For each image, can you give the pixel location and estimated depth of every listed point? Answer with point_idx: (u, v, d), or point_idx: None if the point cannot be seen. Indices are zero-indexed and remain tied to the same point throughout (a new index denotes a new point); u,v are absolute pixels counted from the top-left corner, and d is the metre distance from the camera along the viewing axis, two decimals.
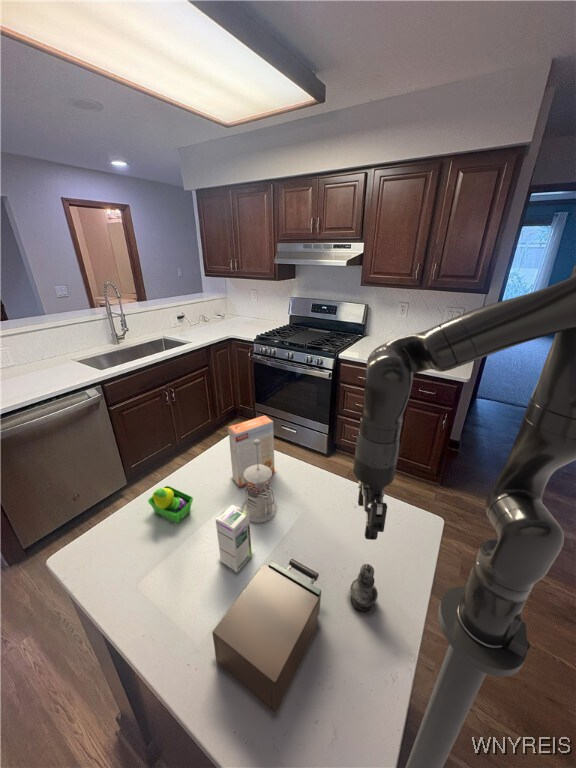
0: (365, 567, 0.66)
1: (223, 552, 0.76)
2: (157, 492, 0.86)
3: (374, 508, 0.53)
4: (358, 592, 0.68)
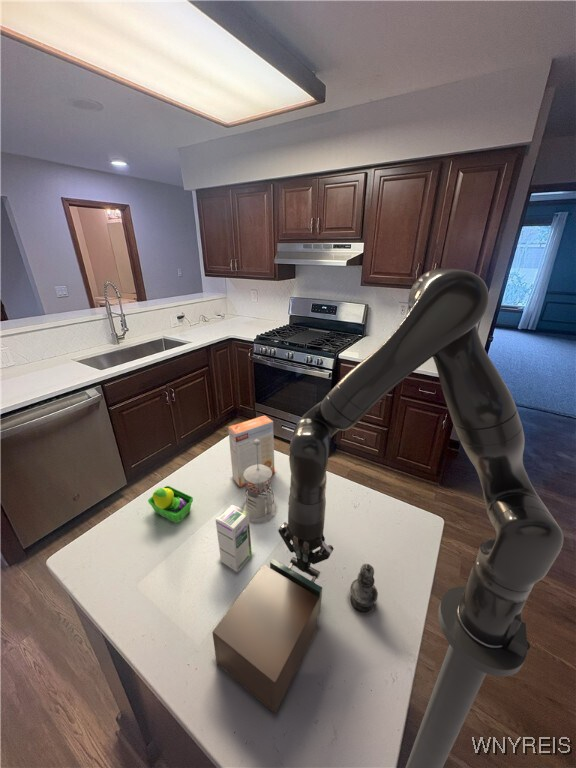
0: (365, 567, 0.66)
1: (223, 552, 0.76)
2: (157, 492, 0.86)
3: (328, 557, 0.64)
4: (358, 592, 0.68)
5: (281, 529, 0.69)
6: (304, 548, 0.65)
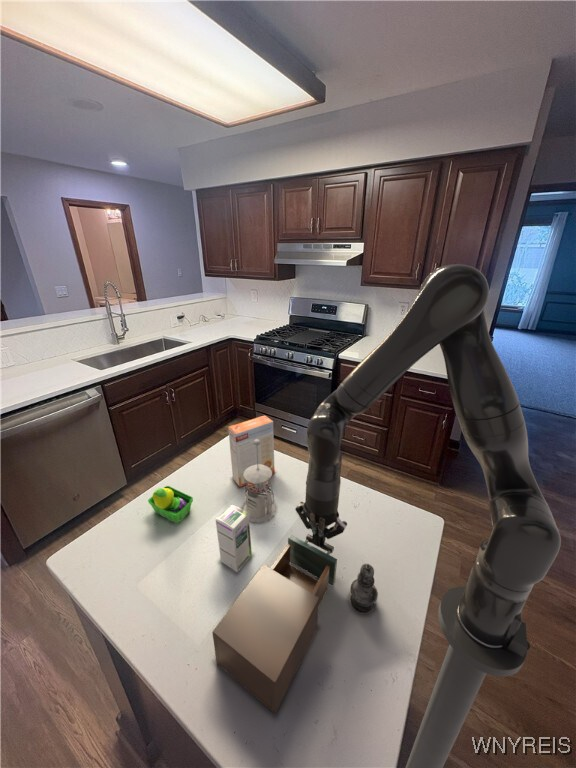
0: (365, 567, 0.66)
1: (223, 552, 0.76)
2: (157, 492, 0.86)
3: (342, 531, 0.69)
4: (358, 592, 0.68)
5: (298, 507, 0.75)
6: (320, 524, 0.71)
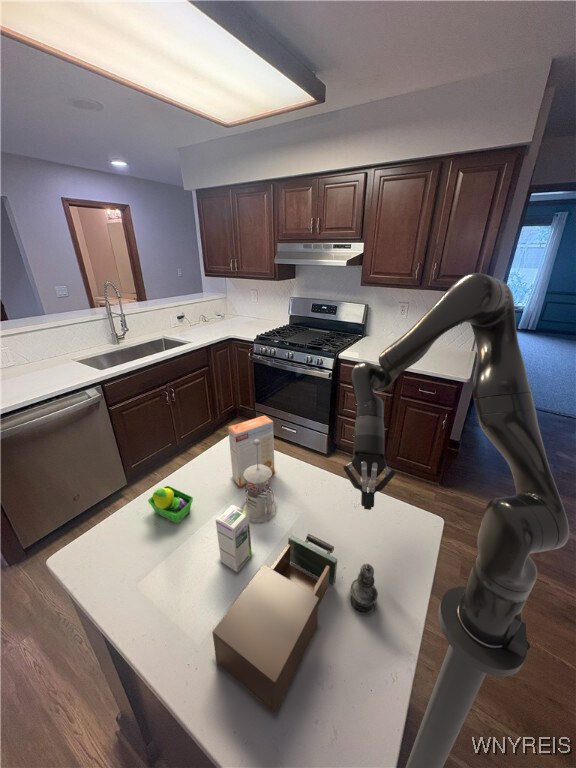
0: (365, 567, 0.66)
1: (223, 552, 0.76)
2: (157, 492, 0.86)
3: (394, 474, 0.74)
4: (358, 592, 0.68)
5: (346, 465, 0.76)
6: (372, 472, 0.74)
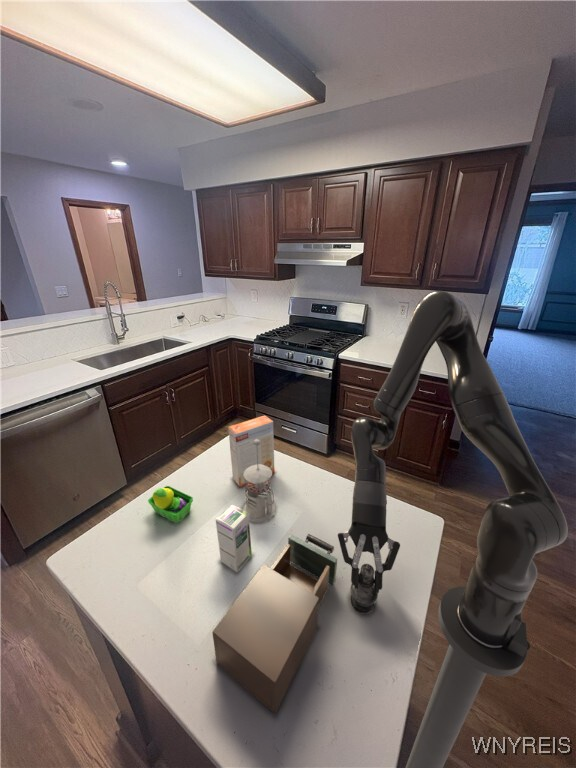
0: (365, 567, 0.66)
1: (223, 552, 0.76)
2: (157, 492, 0.86)
3: (399, 546, 0.67)
4: (358, 592, 0.68)
5: (342, 533, 0.69)
6: (375, 548, 0.67)
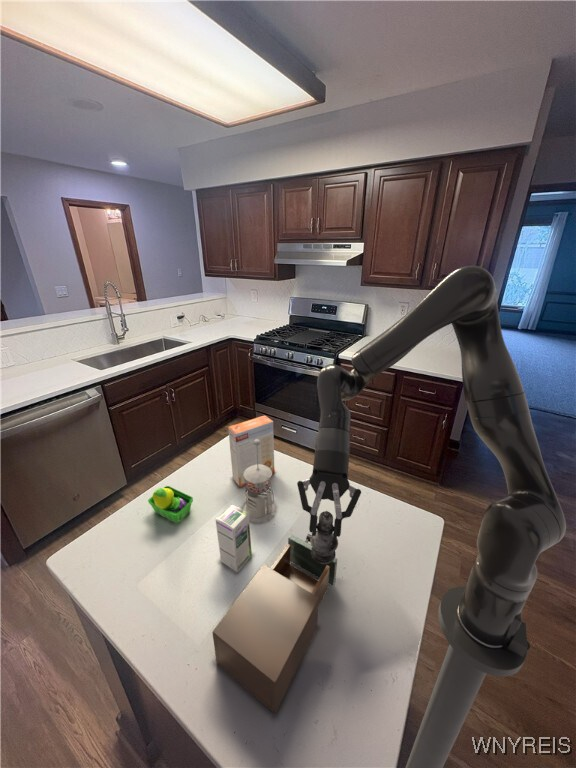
0: (324, 514, 0.63)
1: (223, 552, 0.76)
2: (157, 492, 0.86)
3: (360, 493, 0.64)
4: (317, 541, 0.65)
5: (301, 481, 0.66)
6: (334, 495, 0.64)
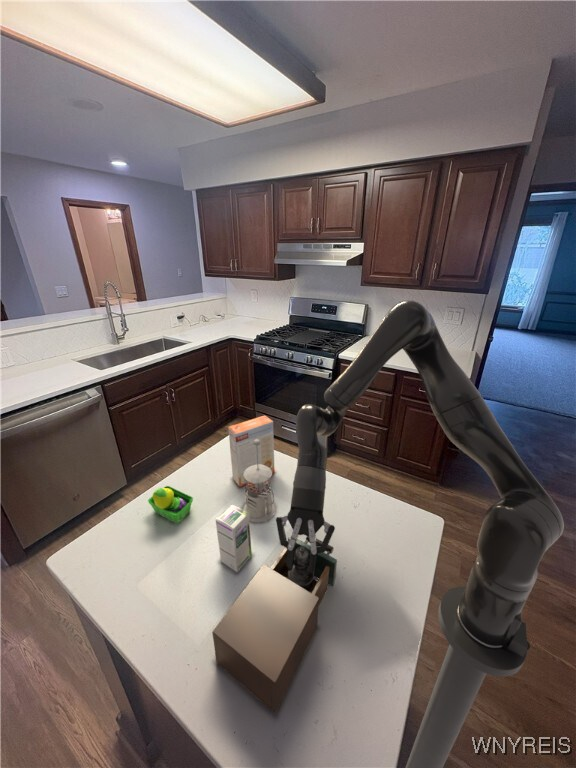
0: (299, 549, 0.67)
1: (223, 552, 0.76)
2: (157, 492, 0.86)
3: (334, 529, 0.68)
4: (294, 574, 0.69)
5: (280, 517, 0.71)
6: (310, 531, 0.68)
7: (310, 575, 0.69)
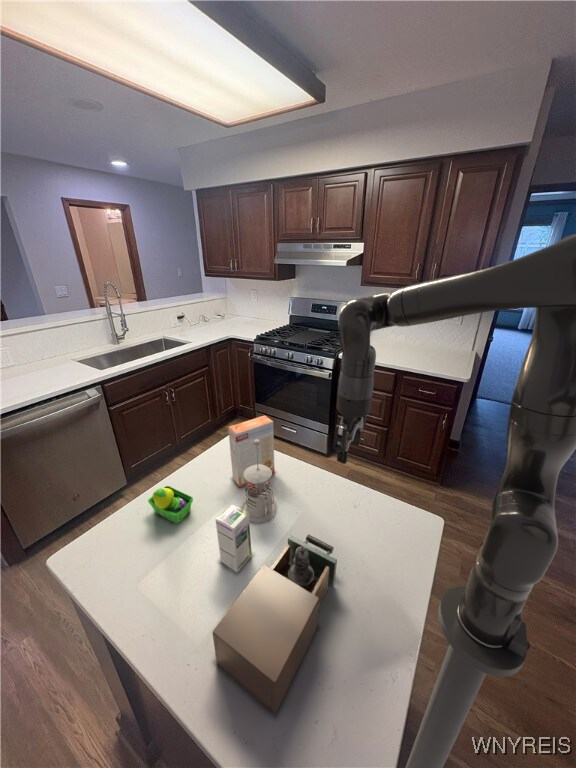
0: (299, 549, 0.67)
1: (223, 552, 0.76)
2: (157, 492, 0.86)
3: None
4: (294, 574, 0.69)
5: None
6: (361, 424, 0.73)
7: (310, 575, 0.69)
